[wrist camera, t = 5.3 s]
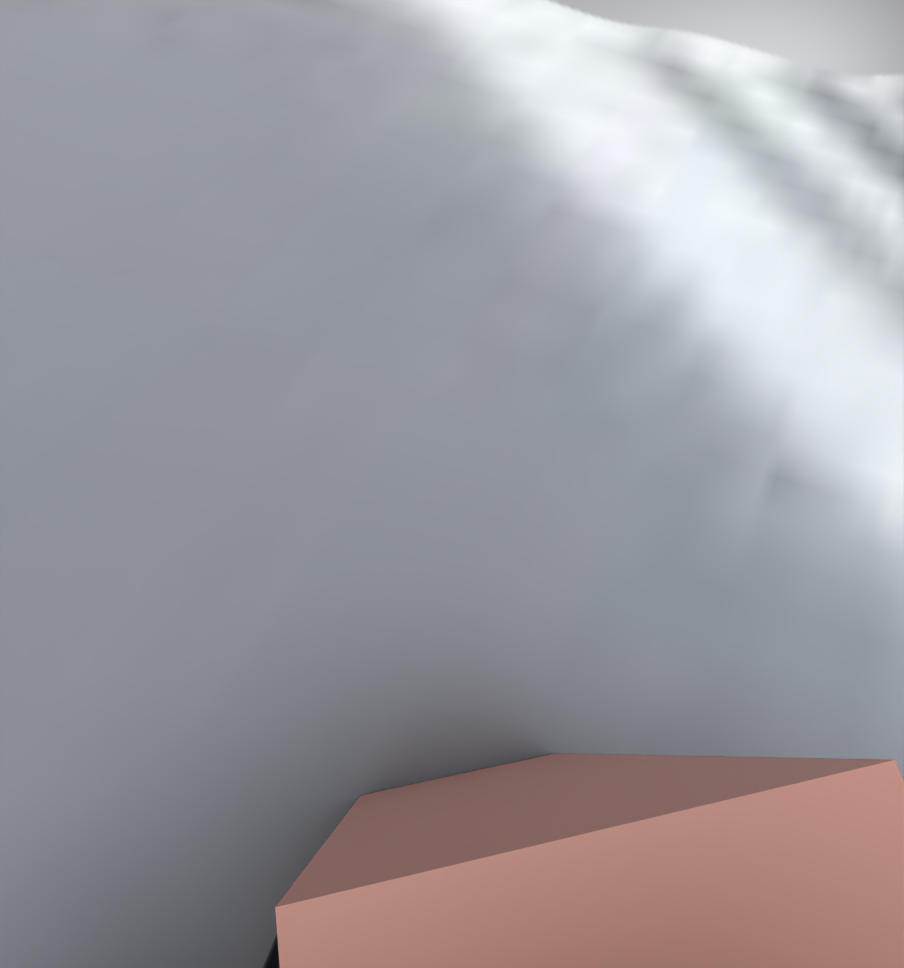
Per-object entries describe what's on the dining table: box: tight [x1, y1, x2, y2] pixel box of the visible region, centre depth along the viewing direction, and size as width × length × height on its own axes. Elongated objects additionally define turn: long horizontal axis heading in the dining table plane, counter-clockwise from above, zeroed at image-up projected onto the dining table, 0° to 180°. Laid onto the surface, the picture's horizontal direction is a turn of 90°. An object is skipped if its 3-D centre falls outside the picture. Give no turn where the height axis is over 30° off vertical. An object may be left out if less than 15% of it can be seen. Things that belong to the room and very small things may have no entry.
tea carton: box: [275, 753, 904, 968], centre depth 10 cm, size 4×5×12 cm
